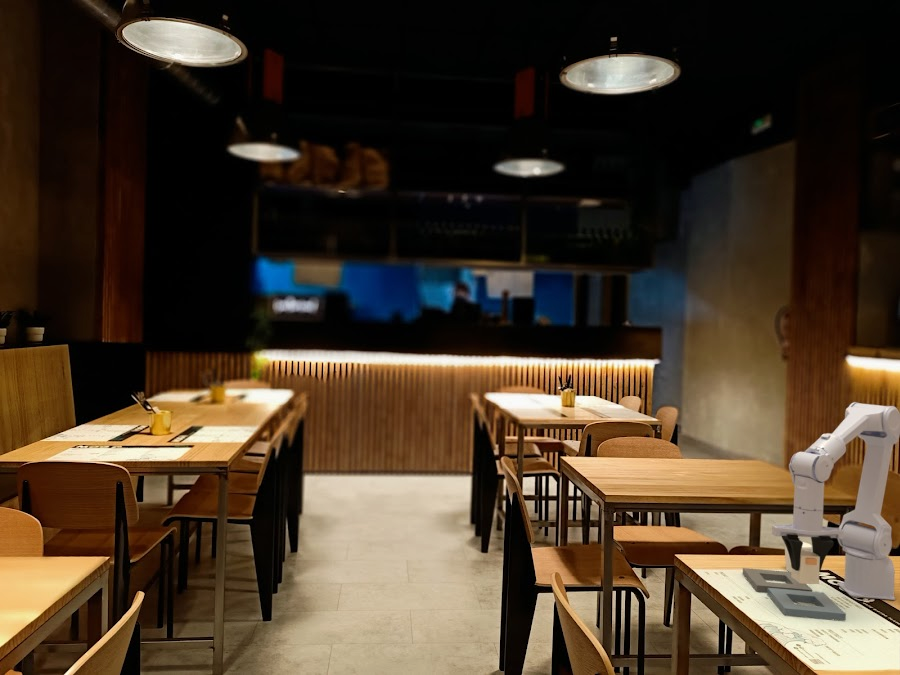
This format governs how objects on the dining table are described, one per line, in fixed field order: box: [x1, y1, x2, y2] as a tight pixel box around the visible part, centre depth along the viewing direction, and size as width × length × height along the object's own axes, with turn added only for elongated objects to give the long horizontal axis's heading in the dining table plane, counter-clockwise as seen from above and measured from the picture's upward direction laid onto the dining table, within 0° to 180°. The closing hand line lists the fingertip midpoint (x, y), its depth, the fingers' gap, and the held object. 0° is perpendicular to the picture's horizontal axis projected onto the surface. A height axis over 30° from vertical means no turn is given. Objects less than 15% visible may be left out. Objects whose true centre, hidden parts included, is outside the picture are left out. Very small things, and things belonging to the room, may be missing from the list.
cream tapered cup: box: [783, 541, 813, 572], centre depth 172 cm, size 7×7×7 cm
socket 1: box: [742, 567, 813, 594], centre depth 162 cm, size 12×12×2 cm
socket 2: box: [766, 588, 847, 621], centre depth 149 cm, size 12×12×2 cm
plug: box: [791, 550, 820, 585], centre depth 148 cm, size 4×5×6 cm
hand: (805, 569), depth 149 cm, fingers closed on plug, 4 cm apart
